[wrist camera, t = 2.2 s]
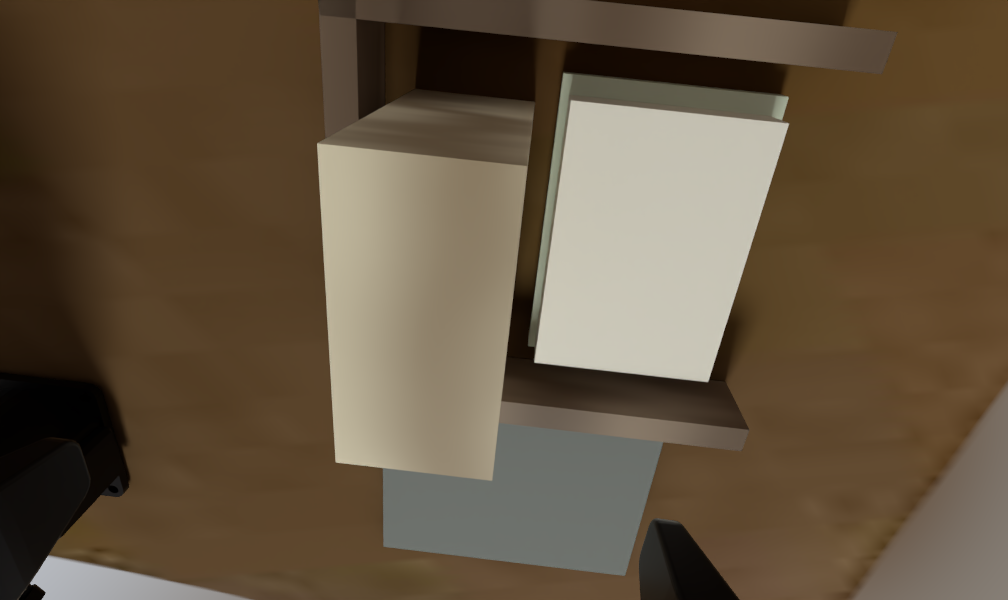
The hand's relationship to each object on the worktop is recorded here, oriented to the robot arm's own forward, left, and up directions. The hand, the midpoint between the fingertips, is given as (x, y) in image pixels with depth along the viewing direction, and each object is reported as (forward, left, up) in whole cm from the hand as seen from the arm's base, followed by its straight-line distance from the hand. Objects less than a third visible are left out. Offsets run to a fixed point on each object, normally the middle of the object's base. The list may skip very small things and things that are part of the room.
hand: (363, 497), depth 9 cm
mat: (+3, -13, -13) cm, 19 cm away
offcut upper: (+6, 0, -13) cm, 14 cm away
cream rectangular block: (0, 0, -13) cm, 13 cm away
